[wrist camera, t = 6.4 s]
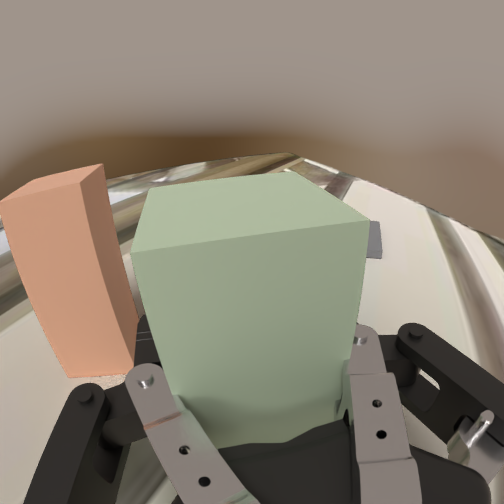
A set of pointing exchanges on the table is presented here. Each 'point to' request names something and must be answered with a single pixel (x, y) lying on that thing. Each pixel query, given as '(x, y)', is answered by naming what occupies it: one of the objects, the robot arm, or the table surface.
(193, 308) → the sage pillar
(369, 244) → the tile
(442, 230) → the table surface
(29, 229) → the terracotta pillar
